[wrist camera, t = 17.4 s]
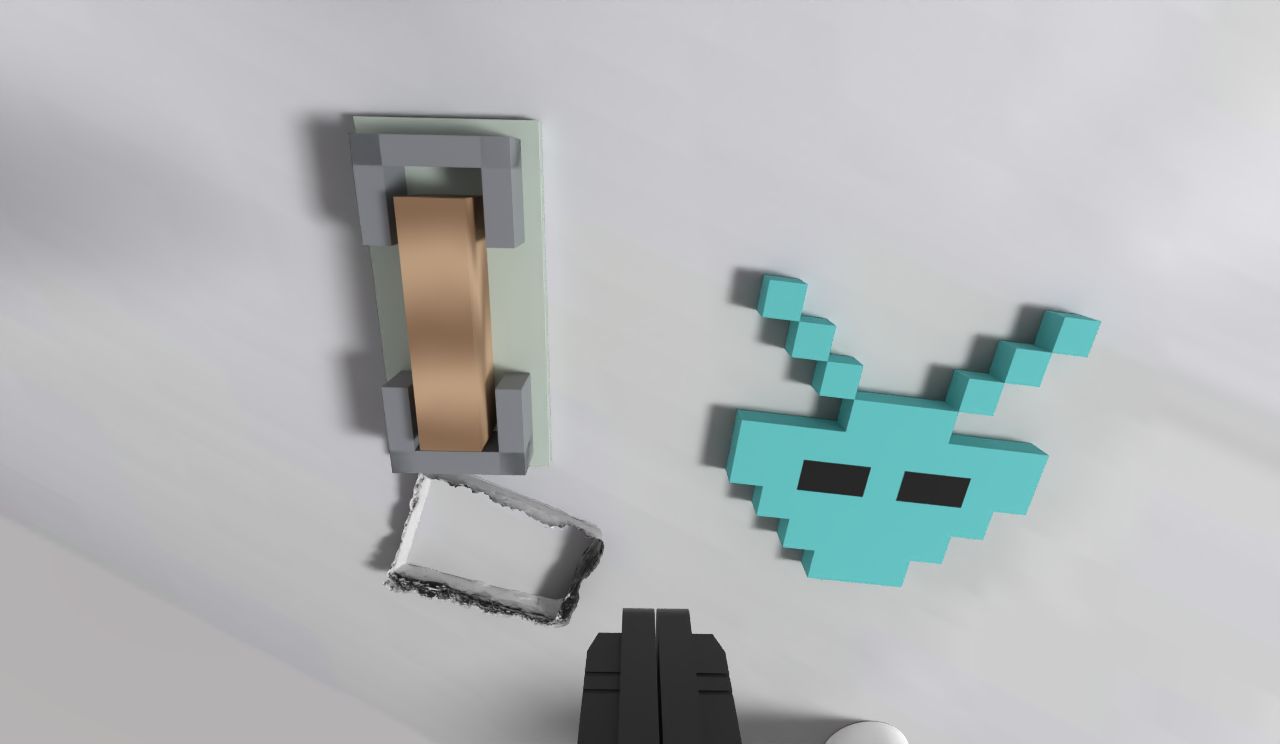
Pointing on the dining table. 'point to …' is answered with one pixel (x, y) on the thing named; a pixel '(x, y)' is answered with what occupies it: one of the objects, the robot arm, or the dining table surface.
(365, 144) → the end caps
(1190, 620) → the dining table surface
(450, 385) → the slat
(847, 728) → the cylindrical container
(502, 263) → the cradle board
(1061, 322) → the alien figure
